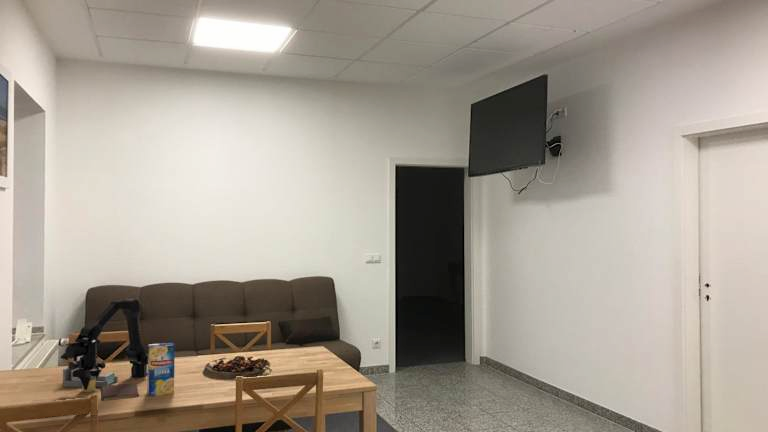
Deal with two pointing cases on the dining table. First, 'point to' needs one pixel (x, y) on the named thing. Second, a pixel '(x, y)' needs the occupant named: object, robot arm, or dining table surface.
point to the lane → (69, 383)
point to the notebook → (119, 391)
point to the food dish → (235, 368)
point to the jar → (91, 384)
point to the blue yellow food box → (160, 369)
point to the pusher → (109, 378)
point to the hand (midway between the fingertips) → (88, 387)
